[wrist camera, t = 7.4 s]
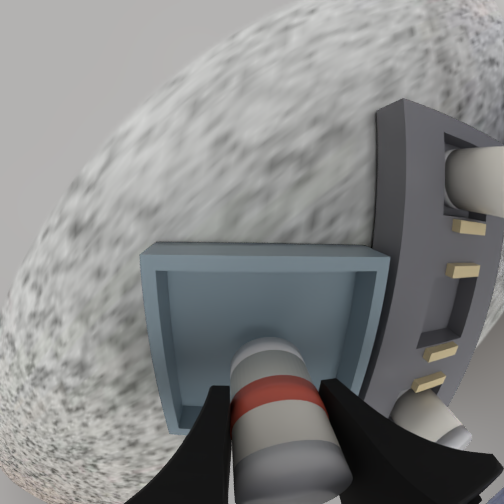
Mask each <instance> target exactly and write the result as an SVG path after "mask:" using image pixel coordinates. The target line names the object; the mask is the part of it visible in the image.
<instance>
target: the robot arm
mask: <svg viewBox="0 0 504 504" xmlns="http://www.w3.org/2000/svg"><path fill="white" fill-rule="evenodd" d="M319 394H320V396H321V399H322V401H323V403H324V406H325V408H326V410H327V413H328V415H329V421H330V424H331V426H332V428H333V431H334V433H335V436H336V438H337V440H338V443H339V445H340V447H341V450H342V452H343V455H344V457H345V459H346V462H347V464H348V466H349V469H350V471H351V474H352V476H353V480H352V483H351V484H350V486H349V487H348V488H347V489H346V490H345V491H344V492H342V493H341V494H340V495H339V496H340V500H341V504H479V503H480V502H481V501H482V499H481V497H480V496H479V494H480V493H481V492H483V491H484V490H485V489H486V488H487V487H488V486H489V485H490V484H491V483H492V482H493V481H494V480H495V479H496V478H497V477H498V476H499V475H500V474H501V473H502V471H503V469H504V468H503V466H502V465H501V464H500V463H499V461H498V460H497V459H496V458H495V456H494V455H493V454H486V453H477V452H469V451H464V450H459V449H455V448H451V447H447V446H444V445H441V444H438V443H435V442H432V441H430V440H427V439H425V438H422V437H420V436H418V435H416V434H414V433H412V432H410V431H408V430H406V429H404V428H402V427H401V426H399V425H397V424H396V423H394V422H392V421H391V420H389V419H388V418H386V417H385V416H383V415H382V414H380V413H379V412H378V411H376V410H375V409H373V408H372V407H371V406H370V405H368V404H367V403H366V402H364V401H363V400H362V399H361V398H359V397H358V396H357V395H356V394H355V393H353V392H352V391H351V390H350V389H349V388H348V387H346V386H345V385H344V384H343V383H342V382H340V381H339V380H338V379H337V378H333V379H325V380H321V382H320V387H319ZM230 421H231V414H230V386H221V385H212V386H211V387H210V388H209V391H208V395H207V398H206V400H205V403H204V405H203V407H202V409H201V411H200V413H199V415H198V417H197V419H196V421H195V423H194V425H193V427H192V428H191V430H190V432H189V433H188V435H187V436H186V438H185V439H184V441H183V443H182V444H181V446H180V447H179V448H178V450H177V451H176V453H175V454H174V455H173V456H172V458H171V459H170V460H169V461H168V463H167V464H166V465H165V466H164V467H163V468H162V470H161V471H160V472H159V473H158V474H157V475H156V476H155V477H154V478H153V479H152V480H151V481H150V482H149V483H148V484H147V485H146V486H145V487H144V488H142V489H141V490H140V491H139V492H138V493H136V494H135V495H134V496H133V497H132V498H130V499H129V500H128V501H127V502H125V503H124V504H228V488H229V475H230V461H231V447H232V440H231V437H230ZM486 504H504V488H502V489H501V490H500V491H499V492H498V493H497V494H496V495H495V496H494V497H493V498H491V499H490V500H489V501H488V502H487V503H486Z"/></svg>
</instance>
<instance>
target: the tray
mask: <svg viewBox="0 0 504 504" xmlns="http://www.w3.org/2000/svg"><path fill="white" fill-rule="evenodd" d="M389 264H390V257H389V256H387V255H385V254H383V253H381V252H378V251H376V250H374V249H372V248H370V247H367V246H365V245H336V244H286V243H218V242H156V243H154V244H153V245H152V246H150V247H149V248H148V249H146V250H145V251H144V252H142V253H141V254H140V268H141V280H142V291H143V300H144V308H145V316H146V324H147V330H148V337H149V343H150V349H151V355H152V361H153V366H154V371H155V376H156V381H157V386H158V390H159V395H160V399H161V403H162V407H163V411H164V415H165V419H166V423H167V427H168V430H169V434H177V435H188V433H189V432H190V430H191V428H192V427H193V425H194V423H195V421H196V419H197V417H198V415H199V413H200V411H201V409H202V407H203V405H204V403H205V400H206V398H207V395H208V391H209V388H210V387H211V386H212V385H221V386H230V363H231V360H232V357H233V355H234V354H235V352H236V351H237V350H238V349H239V348H240V347H241V346H243V345H244V344H246V343H248V342H250V341H252V340H254V339H258V338H262V337H278V338H282V339H285V340H287V341H289V342H291V343H293V344H294V345H295V346H296V347H297V348H298V350H299V351H300V353H301V356H302V358H303V360H304V363H305V365H306V367H307V370H308V372H309V374H310V377H311V379H312V381H313V384H314V386H315V387H316V388H317V390H318V392H319V387H320V382H321V380H325V379H333V378H337V379H338V380H339V381H340V382H342V383H343V384H344V385H345V386H346V387H348V388H349V389H350V390H351V391H352V392H353V393H355V394H356V395H357V396H358V395H359V392H360V389H361V386H362V382H363V379H364V376H365V373H366V369H367V366H368V363H369V359H370V355H371V352H372V348H373V344H374V340H375V336H376V332H377V328H378V324H379V319H380V315H381V310H382V305H383V300H384V295H385V289H386V283H387V277H388V271H389ZM230 403H231V393H230Z"/></svg>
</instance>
